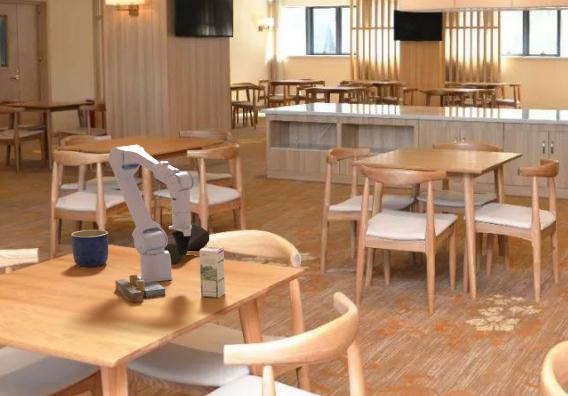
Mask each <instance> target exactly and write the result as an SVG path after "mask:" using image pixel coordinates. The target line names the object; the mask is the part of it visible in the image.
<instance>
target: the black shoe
mask: <svg viewBox="0 0 568 396" xmlns="http://www.w3.org/2000/svg"><path fill="white" fill-rule="evenodd" d="M191 225H192V228H191V233H192V237H191V238H190V241H189V244H188V250H187V252H188V251H190V250H195V249H198V250H201V249H202V248H204V247H206V246H207V245H208V244H209V242H210V232H209V231H208V230H206V229H205V228H204V227H202V226H200V225H198V224H195V223H194V224H192V223H191ZM164 251H168V252H169V253H170V257H171V265H176V264H179V263H180V262H181V261H182V259H183V258H184V256H185V255H181V256H180V255H179V253H178V249H177V245H176V242H170V243H167V246H166V247H165V248H164Z"/></svg>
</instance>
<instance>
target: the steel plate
mask: <svg viewBox="0 0 568 396" xmlns="http://www.w3.org/2000/svg"><path fill="white" fill-rule="evenodd" d="M144 286H145V297H144V298H156V297H164V296H166V288H165V287H164V286H162V284H160V283H158V281H156V282H155V281H154V282H146V283H144Z"/></svg>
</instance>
